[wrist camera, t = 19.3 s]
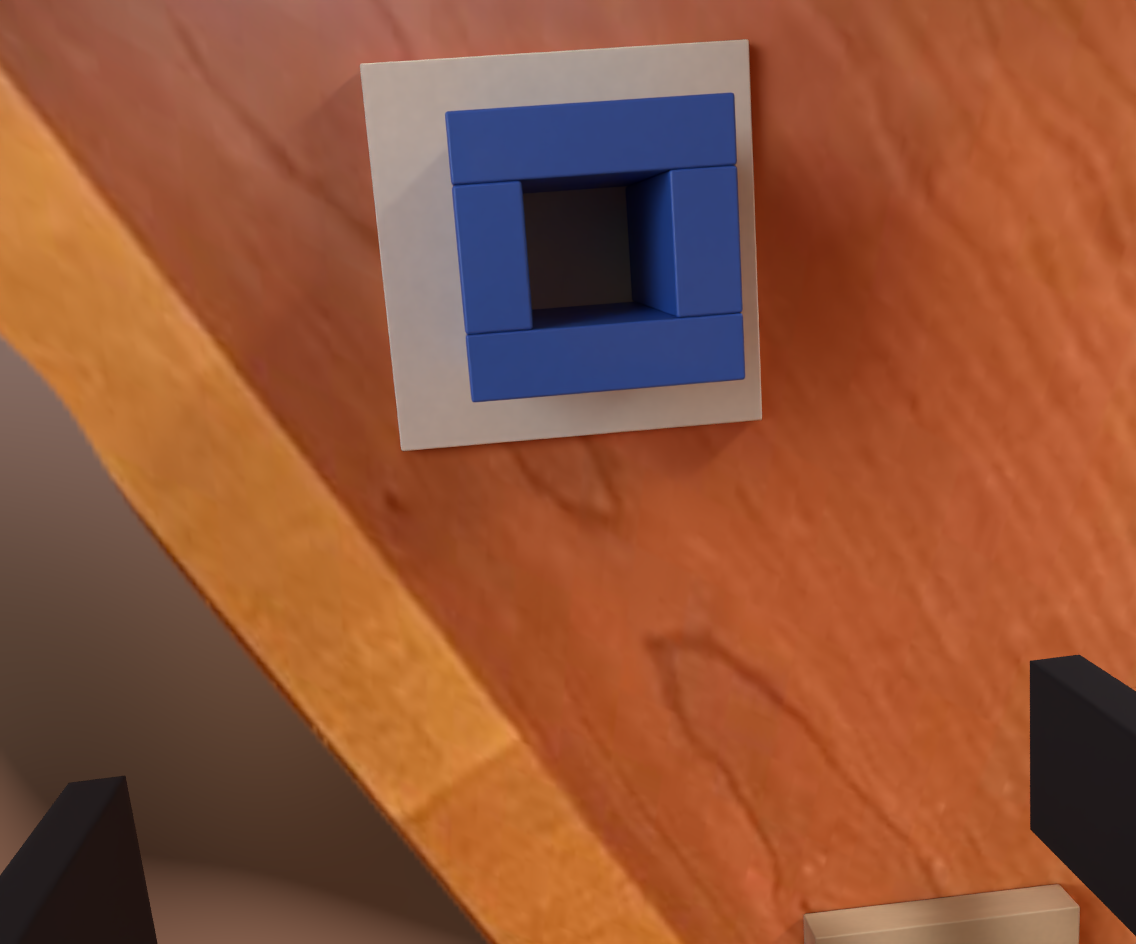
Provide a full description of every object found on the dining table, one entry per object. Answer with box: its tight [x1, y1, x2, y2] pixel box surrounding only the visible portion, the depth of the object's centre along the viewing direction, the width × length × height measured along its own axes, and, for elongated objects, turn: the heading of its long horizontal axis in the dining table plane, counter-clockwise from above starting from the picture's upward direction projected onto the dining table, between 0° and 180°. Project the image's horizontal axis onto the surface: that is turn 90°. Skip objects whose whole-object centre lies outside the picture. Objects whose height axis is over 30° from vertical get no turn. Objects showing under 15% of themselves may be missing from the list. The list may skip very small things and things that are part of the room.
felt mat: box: [360, 39, 762, 451], centre depth 35 cm, size 12×12×1 cm
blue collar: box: [445, 92, 745, 402], centre depth 30 cm, size 7×7×8 cm
